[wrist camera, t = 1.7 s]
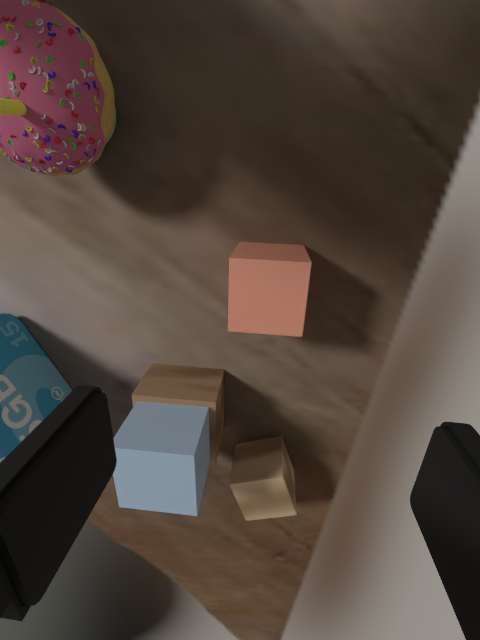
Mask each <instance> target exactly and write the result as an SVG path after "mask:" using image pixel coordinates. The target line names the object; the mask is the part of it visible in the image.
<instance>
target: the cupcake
mask: <svg viewBox="0 0 480 640" xmlns="http://www.w3.org/2000/svg"><path fill="white" fill-rule="evenodd" d="M115 126H116V108H115V98H114V88H113V84H112V81H111V78H110V76H109V74H108V71H107V69H106V67H105V64H104V62H103V61H102V59H101V57H100V55H99V52H98V50H97V47H96V45H95V43H94V41H93V40H92V39H91V37H90V36H89V35H88V34H87V33H86V32H85V31H84V30H83V29H82V28H80V27H79V26H78V25H77V24H76V23H75V22H74V21H73V20H72V19H71V18H70V17H69V16H67V15H66V14H65V13H64V12H62V11H61V10H59V9H57V8H55V7H53V6H51V5H49V4H47V3H45V1H44V0H0V152H1V153H2V154H3V155H6V156H7V157H8V158H9V160H10V161H11V160H12V161H13V162H15V163H16V164H18V165H20V166H21V167H24V168H26V169H29V170H31V171H34V172H39V173H42V174H48V175H74V174H77V173H79V172H81V171H82V170H83V169H85V168H86V167H87V166H89V165H90V164H92V163H94V162H95V161H97V160H98V159H99V158H100V156H101V154H102V151H103V149H104V147H105V145H106V143H107V142H108V141H109V140H110V138H111V137H112V135H113V132H114V130H115ZM12 161H11V162H12Z"/></svg>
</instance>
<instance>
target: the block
mask: <svg viewBox="0 0 480 640" xmlns="http://www.w3.org/2000/svg"><path fill="white" fill-rule="evenodd" d="M229 485H230V487H231V489H232V491H233V493H234V496H235V498H236V500H237V502H238V504H239V506H240V509H241V511H242V513H243V515H244V517H245V520H246V521H248V520H256V519H265V518H274V517H283V516H292V515H297V510H296V494H295V478H294V469H293V467H292V464H291V461H290V458H289V455H288V452H287V449H286V446H285V443H284V441H283V438H282V436H278V437H272V438H266V439H261V440H255V441H249V442H243V443H237V444H236V445H235V452H234V458H233V465H232V471H231V478H230V484H229Z"/></svg>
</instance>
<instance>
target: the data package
mask: <svg viewBox="0 0 480 640" xmlns="http://www.w3.org/2000/svg"><path fill="white" fill-rule="evenodd" d="M72 391H73V390H72V389H71V387H70V386H69V385H68V383H67V382H66V381H65V379H64V378H63V377H62V375H61V374H60V373H59V371H58V370H57V369H56V367H55V366H54V365H53V363H52V362H51V360H50V359H49V358H48V356H47V355H46V354H45V352H44V351H43V350H42V348H41V347H40V346H39V344H38V343H37V342H36V340H35V339H34V338H33V336H32V335H31V334H30V332H29V331H28V330H27V328H26V327H25V326H24V324H23V323H22V322H21V321H20V320H19V319H18V318H17V317H15V316H13V315H10V314H6V313H2V314H0V462H1V461H2V460H3V459H4V458H5V457H6V456H7V455H8V454H9V453H10V452H12V451H13V450H14V449H15V448H16V447H17V446H18V445H19V444H20V443H21V442H22V441H23V440H24V439H25V438H26V437H27V436H28V435H29V434H30V433H31V432H32V431H33V430H34V429H35V428H36V427H37V426H38V425H39V424H40V423H41V422H42V421H43V420H44V419H45V418H46V417H47V416H48V415H49V414H50V413H51V412H52V411H53V410H54V409H55V408H56V407H57V406H58V405H59V404H60V403H61V402H62V401H63V400H64V399H65V398H66V397H67V396H68V395H69V394H70V393H71V392H72Z"/></svg>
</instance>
